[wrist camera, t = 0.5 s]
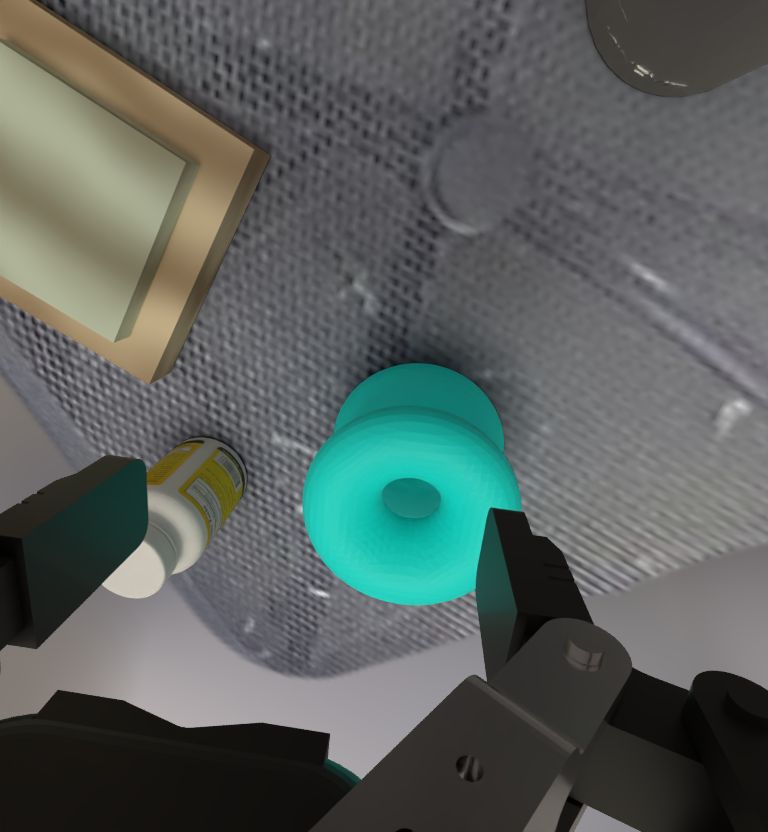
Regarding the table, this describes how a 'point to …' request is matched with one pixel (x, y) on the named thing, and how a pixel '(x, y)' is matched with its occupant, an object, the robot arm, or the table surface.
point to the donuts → (409, 485)
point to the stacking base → (201, 211)
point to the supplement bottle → (181, 513)
